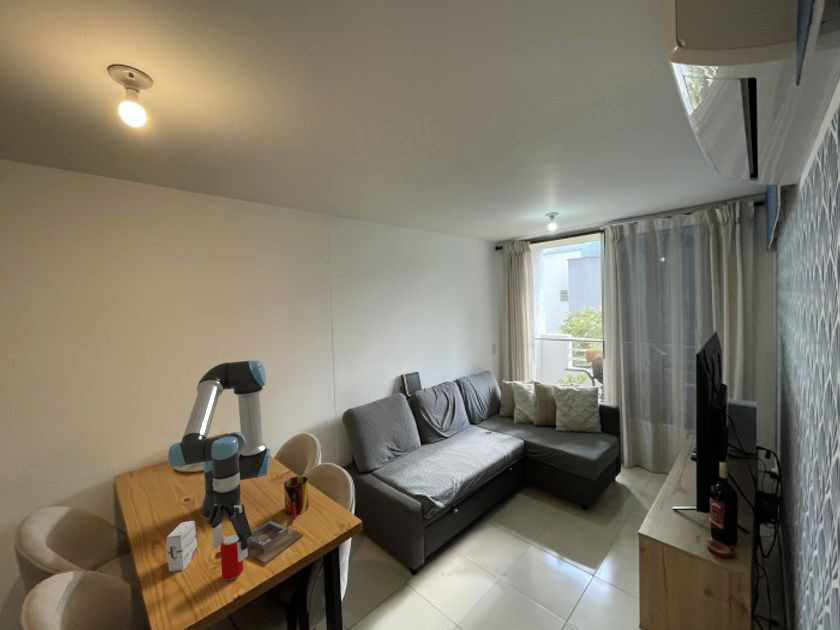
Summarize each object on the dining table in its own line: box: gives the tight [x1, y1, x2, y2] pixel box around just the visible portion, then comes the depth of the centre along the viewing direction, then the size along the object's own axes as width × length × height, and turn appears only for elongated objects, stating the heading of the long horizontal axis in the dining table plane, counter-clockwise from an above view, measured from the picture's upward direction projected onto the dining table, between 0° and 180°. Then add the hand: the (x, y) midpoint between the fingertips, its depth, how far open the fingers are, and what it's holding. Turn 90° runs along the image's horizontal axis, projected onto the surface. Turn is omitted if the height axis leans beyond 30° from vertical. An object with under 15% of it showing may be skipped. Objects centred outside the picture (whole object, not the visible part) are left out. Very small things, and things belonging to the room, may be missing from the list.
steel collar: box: [247, 520, 289, 552], centre depth 125 cm, size 10×10×3 cm
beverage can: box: [219, 534, 244, 581], centre depth 110 cm, size 6×6×12 cm
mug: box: [283, 475, 310, 520], centre depth 144 cm, size 10×14×12 cm
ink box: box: [165, 520, 198, 572], centre depth 117 cm, size 9×5×12 cm, turn 5°
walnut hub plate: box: [247, 519, 304, 566], centre depth 125 cm, size 20×16×1 cm
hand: (230, 552), depth 109 cm, fingers open, 13 cm apart
